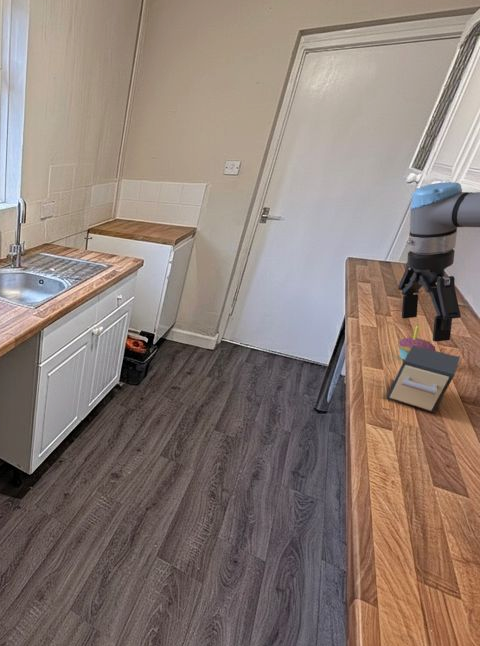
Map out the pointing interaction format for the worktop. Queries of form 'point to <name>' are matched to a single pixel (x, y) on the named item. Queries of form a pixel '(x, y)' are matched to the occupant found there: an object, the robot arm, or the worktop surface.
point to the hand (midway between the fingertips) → (424, 328)
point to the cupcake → (413, 344)
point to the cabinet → (429, 368)
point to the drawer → (419, 387)
